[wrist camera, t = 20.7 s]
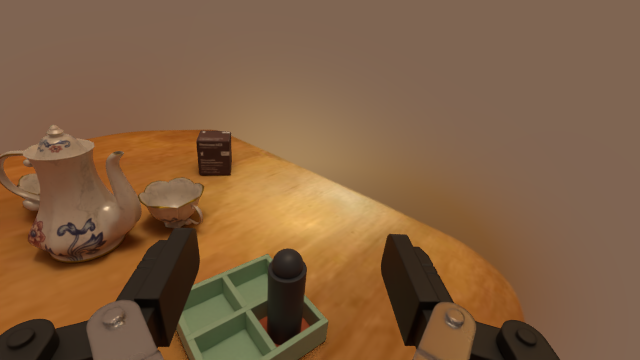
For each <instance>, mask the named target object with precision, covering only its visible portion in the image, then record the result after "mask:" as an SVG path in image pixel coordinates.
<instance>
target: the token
mask: <svg viewBox="0 0 640 360" xmlns="http://www.w3.org/2000/svg"><path fill="white" fill-rule="evenodd" d="M306 272H307V267H306V265H305V263H304V262H303V259H302V257H301V255H300V254H299V253H298V252H297V251H295V250H293V249H283V250H281V251H279V252H278V253H277V254H276V255H275V256H274V258H273V260H272V261H271V262H270V264H269V266H268V293H267V334H268V335H269V337H270V338H271V340H272V341H273V343H275V344H277V345H282V344H283V343H285V342H287V341H288V340H290V339H291V338H293V337H294V336H296V335H298V334H299V333H301V325H302V315H303V304H304V293H305V283H306Z"/></svg>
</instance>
